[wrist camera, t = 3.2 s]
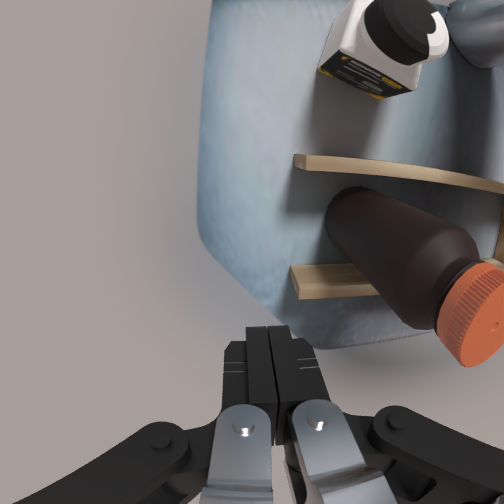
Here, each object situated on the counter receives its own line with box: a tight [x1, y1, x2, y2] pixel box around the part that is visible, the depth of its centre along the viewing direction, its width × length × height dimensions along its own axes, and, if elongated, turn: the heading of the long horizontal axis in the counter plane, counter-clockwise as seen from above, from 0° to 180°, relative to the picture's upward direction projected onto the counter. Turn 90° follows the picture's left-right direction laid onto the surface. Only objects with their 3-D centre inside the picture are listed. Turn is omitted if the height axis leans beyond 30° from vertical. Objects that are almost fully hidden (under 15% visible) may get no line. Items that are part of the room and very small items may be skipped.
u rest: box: [290, 154, 504, 299], centre depth 26 cm, size 12×33×5 cm, turn 90°
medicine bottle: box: [318, 0, 449, 100], centre depth 16 cm, size 7×7×12 cm
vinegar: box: [326, 187, 504, 367], centre depth 19 cm, size 7×7×20 cm
